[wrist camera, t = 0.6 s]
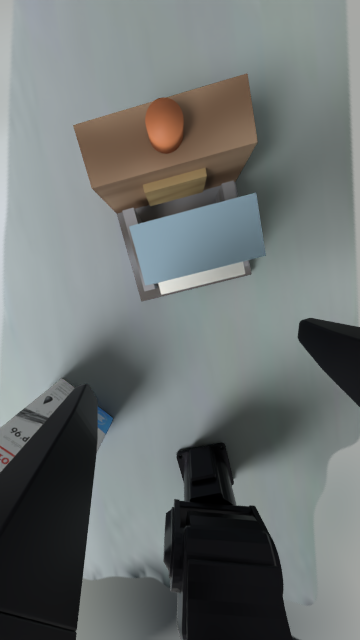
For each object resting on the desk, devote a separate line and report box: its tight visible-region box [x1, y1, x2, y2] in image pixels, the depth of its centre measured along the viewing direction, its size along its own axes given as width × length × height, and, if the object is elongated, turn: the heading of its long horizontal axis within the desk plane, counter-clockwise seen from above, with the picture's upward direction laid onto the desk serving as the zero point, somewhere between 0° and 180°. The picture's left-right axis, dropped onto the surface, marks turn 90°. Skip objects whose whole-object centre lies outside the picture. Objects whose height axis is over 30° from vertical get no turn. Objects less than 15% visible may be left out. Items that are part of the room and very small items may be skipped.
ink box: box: [0, 379, 113, 472], centre depth 19 cm, size 8×5×15 cm, turn 48°
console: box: [73, 74, 257, 301], centre depth 18 cm, size 13×12×8 cm
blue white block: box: [129, 193, 266, 295], centre depth 16 cm, size 4×6×11 cm, turn 104°
